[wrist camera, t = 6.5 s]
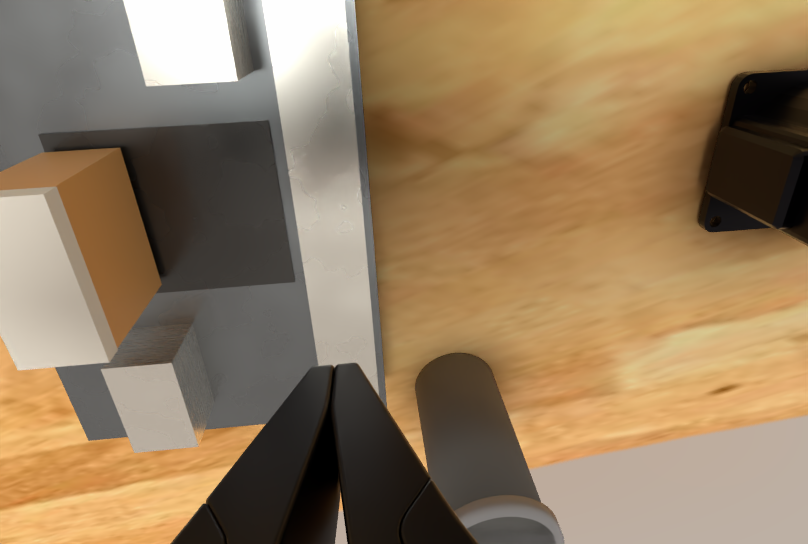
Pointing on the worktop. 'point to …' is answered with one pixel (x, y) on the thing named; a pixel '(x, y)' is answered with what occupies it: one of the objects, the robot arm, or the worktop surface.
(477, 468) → the post
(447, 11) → the worktop surface
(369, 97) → the worktop surface
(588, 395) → the worktop surface
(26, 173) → the block
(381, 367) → the breaker panel
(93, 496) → the worktop surface
